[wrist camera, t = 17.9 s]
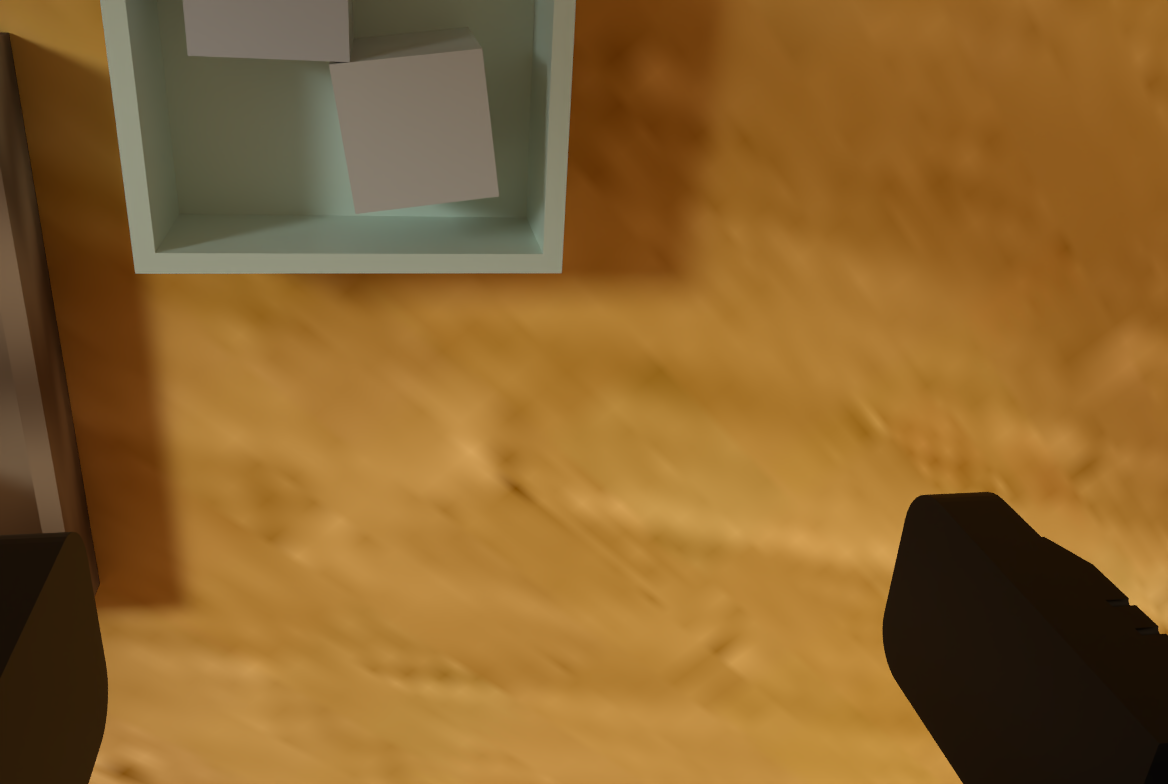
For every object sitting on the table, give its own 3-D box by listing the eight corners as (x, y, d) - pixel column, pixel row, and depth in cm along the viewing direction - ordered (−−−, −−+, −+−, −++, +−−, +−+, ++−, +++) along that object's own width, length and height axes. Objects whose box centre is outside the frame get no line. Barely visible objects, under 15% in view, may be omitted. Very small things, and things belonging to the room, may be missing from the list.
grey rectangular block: (336, 40, 32) (329, 64, 27) (468, 26, 32) (482, 48, 28) (358, 170, 33) (355, 214, 29) (483, 156, 34) (499, 196, 29)
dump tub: (115, -209, 28) (71, -225, 24) (558, -174, 31) (585, -184, 27) (164, 226, 34) (134, 273, 30) (541, 229, 36) (561, 273, 32)
